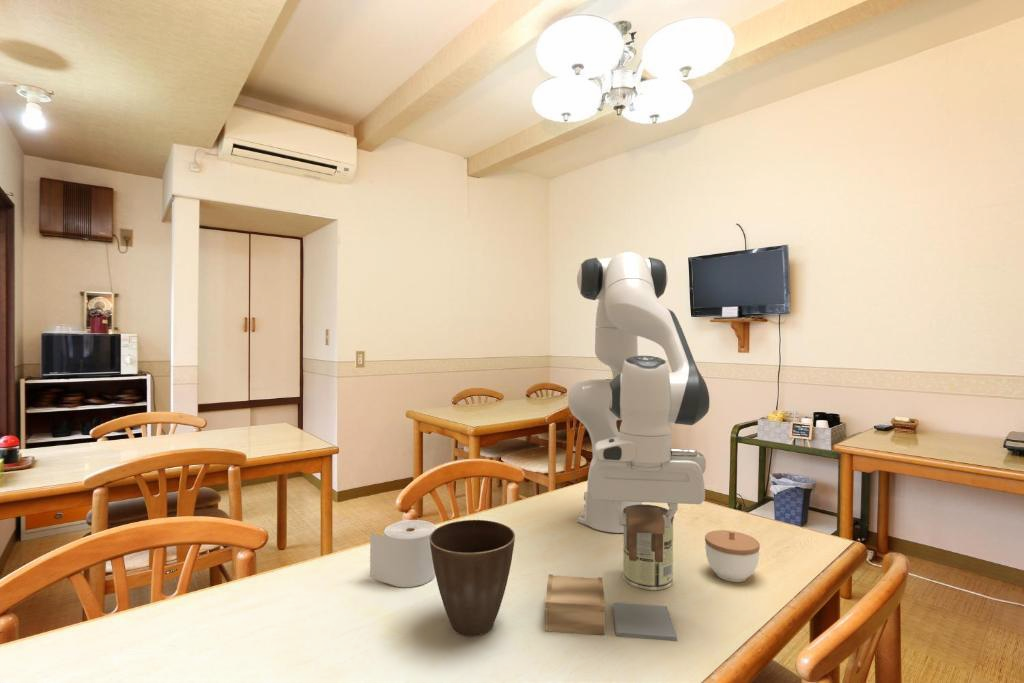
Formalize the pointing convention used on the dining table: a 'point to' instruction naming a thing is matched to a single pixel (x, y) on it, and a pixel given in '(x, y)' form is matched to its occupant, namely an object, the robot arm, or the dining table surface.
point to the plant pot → (472, 571)
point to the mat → (643, 621)
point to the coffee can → (649, 559)
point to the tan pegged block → (645, 530)
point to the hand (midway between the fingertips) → (644, 525)
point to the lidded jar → (732, 554)
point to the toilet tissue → (402, 554)
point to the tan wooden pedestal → (575, 605)
